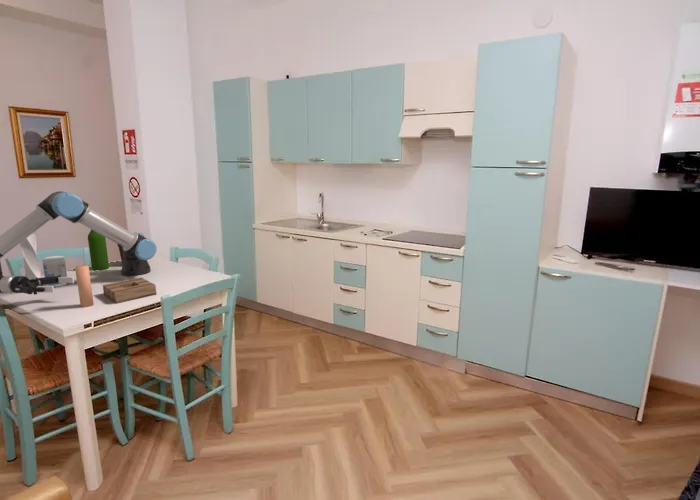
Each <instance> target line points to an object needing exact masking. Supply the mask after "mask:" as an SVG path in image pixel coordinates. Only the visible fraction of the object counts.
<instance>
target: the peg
mask: <svg viewBox="0 0 700 500" xmlns="http://www.w3.org/2000/svg"><path fill="white" fill-rule="evenodd" d="M74 270H75V277H76V283H77V288H78V289H77V290H78V296H79V302H80V303H79V304H80V307H81V308H88V307H89V306H90V307H92V306H94V303H95V302H94V298H93V288H92V282H91V275H90V267H89V265H79V266H75V267H74Z"/></svg>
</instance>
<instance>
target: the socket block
mask: <svg viewBox="0 0 700 500" xmlns="http://www.w3.org/2000/svg"><path fill="white" fill-rule="evenodd" d="M102 290H103V291H102V292H103V295H104V296H105V297H106V298H108V299H110V301H112V302H113V303H115V304H121V303H125V302H130V301H133V300H134V301H135V300H138V299H143V298H147V297H152V296H155V295H157V287H156V284H155V283H153V282H150V281H149V280H147V279H146V278H143V277H137V278H131V279H127V280H122V281H116V282H110V283H106V284H102Z"/></svg>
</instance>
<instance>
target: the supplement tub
mask: <svg viewBox="0 0 700 500" xmlns="http://www.w3.org/2000/svg"><path fill="white" fill-rule="evenodd" d="M42 266H43V267H42V268H43V275H44V277H52V276H58V275H60V276H61V277H68V274H67V267H66V259H65V256H64V255H53V256H51V255H50V256H46V257H44V258H42ZM67 284H68V283H59V282H58V283H52V284H46V285H45V286H53V287H54V288H56V287H57V288H59V287H63V286H66V285H67Z"/></svg>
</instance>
